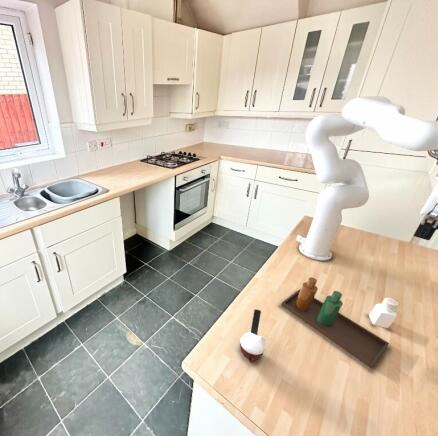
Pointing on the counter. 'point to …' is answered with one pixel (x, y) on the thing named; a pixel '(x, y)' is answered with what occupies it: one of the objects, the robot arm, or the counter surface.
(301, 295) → the amber bottle
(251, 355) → the cocoa
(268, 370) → the counter surface
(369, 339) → the tray
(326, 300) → the green bottle
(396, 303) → the salt shaker
